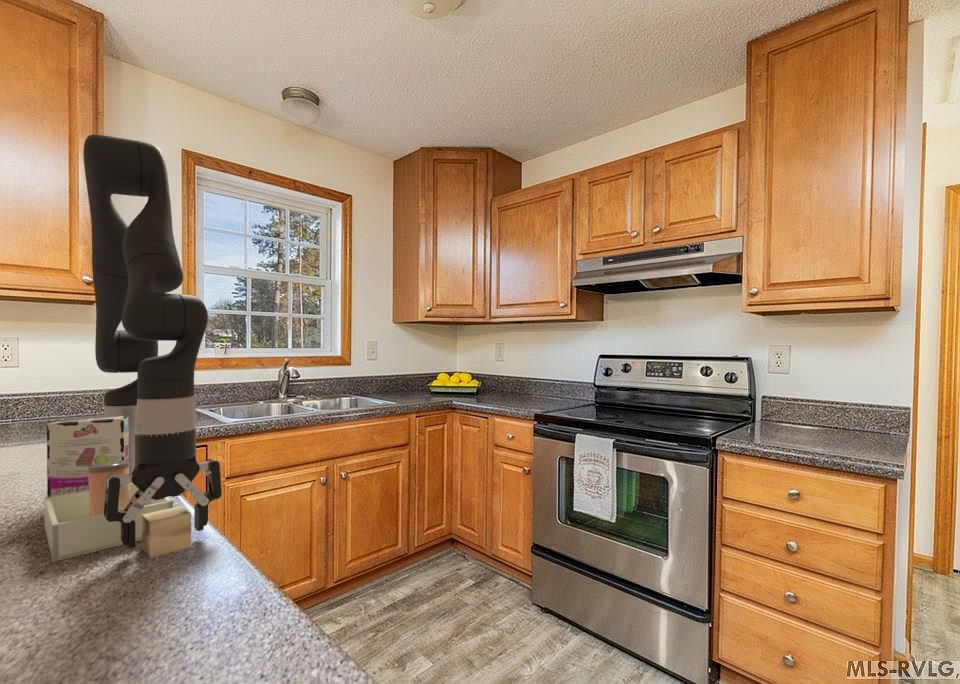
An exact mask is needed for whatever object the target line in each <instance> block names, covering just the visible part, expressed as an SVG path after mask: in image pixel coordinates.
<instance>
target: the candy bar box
mask: <svg viewBox="0 0 960 684" xmlns="http://www.w3.org/2000/svg"><path fill="white" fill-rule="evenodd" d="M121 460H126V461H129V417H128V416H116V417H104V416H103V417H101V416H100V417H89V418H87V417H85V418H77V419H75V418H73V419H60V420H54V421H52V422H49V423H47V425H46V461H47V462H46V463H47V464H46V476H47V477H46V479H47V482H46V483H47V485H46V487H47V491H46V495H47V497H52V496H58V495H64V494H70V493H76V492H81V491H87V490H89V478H88V467H89V466H91V465H94V464H98V463H103V462H110V461H121ZM47 497H46V498H47Z"/></svg>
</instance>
